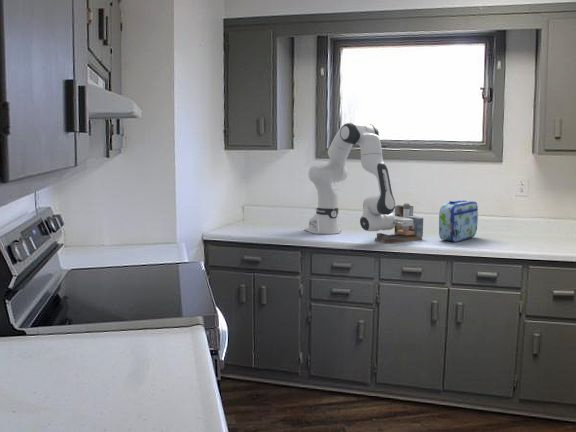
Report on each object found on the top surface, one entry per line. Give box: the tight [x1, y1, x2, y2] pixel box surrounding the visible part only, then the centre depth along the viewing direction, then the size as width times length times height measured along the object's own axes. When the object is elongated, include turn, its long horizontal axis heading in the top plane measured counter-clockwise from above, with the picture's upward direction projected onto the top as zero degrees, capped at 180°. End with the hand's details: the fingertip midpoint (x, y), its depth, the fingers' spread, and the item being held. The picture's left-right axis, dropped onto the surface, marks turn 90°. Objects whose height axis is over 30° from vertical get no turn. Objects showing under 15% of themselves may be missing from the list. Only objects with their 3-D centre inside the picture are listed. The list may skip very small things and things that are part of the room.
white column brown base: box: [397, 202, 415, 235], centre depth 333 cm, size 7×6×16 cm
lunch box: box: [438, 200, 479, 243], centre depth 333 cm, size 26×11×21 cm, turn 134°
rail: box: [374, 215, 424, 244], centre depth 331 cm, size 10×25×12 cm, turn 122°
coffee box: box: [393, 204, 414, 235], centre depth 348 cm, size 9×6×16 cm
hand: (407, 219), depth 333 cm, fingers closed on white column brown base, 3 cm apart
